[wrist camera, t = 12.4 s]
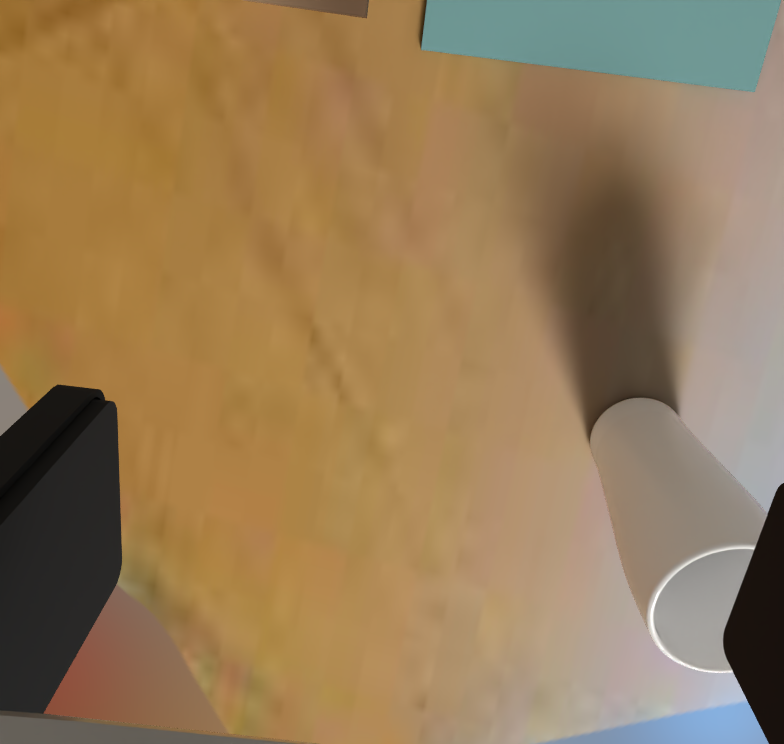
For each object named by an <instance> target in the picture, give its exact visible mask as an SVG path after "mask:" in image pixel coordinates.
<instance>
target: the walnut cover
mask: <svg viewBox="0 0 784 744" xmlns="http://www.w3.org/2000/svg"><path fill="white" fill-rule="evenodd" d="M245 1H252V2H259V3H265V4H272V5H279V6H286V7H293V8H300V9H307V10H314V11H320V12H327V13H334V14H341V15H348V16H355V17H362V18H367V12H368V3H369V0H245Z"/></svg>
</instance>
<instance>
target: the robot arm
mask: <svg viewBox="0 0 784 744" xmlns="http://www.w3.org/2000/svg"><path fill="white" fill-rule="evenodd" d="M121 565H122V545H121V514H120V484H119V453H118V422H117V408H116V405H115V403H114V402H113V401H105V397H104V395H103V392H102V391H101V390H99V389H91V388H82V387H74V386H66V385H56V386H55V387H53V388H52V389H51V390H50V391H49V392H48V393H47V394H46V395H44V396H43V397H42V398H41V399H40V400H39V401H38V402H37V403H36V404H35V405H34V406H33V407H31V408H30V409H29V410H28V411H27V412H26V413H25V414H24V415H23V416H22V417H21V418H20V419H19V420H17V421H16V422H15V423H14V424H13V425H12V426H11V427H10V428H9V429H8V430H7V431H6V432H5V433H3V434H2V435H1V436H0V744H317V743H308V742H299V741H290V740H281V739H271V738H262V737H253V736H244V735H235V734H225V733H216V732H207V731H198V730H188V729H179V728H170V727H161V726H151V725H143V724H132V723H124V722H115V721H105V720H97V719H87V718H78V717H69V716H60V715H51V714H43V713H44V711H45V710H46V708H47V706H48V704H49V703H50V701H51V699H52V697H53V695H54V694H55V692H56V690H57V688H58V687H59V685H60V683H61V681H62V680H63V678H64V676H65V674H66V673H67V671H68V669H69V667H70V665H71V664H72V662H73V660H74V658H75V657H76V655H77V653H78V651H79V649H80V648H81V646H82V644H83V643H84V641H85V639H86V637H87V636H88V634H89V632H90V630H91V628H92V627H93V625H94V623H95V621H96V620H97V618H98V616H99V614H100V613H101V611H102V609H103V607H104V605H105V604H106V602H107V600H108V598H109V597H110V595H111V593H112V591H113V590H114V588H115V586H116V584H117V581H118V578H119V575H120V571H121ZM723 648H724V653H725V656H726V659H727V661H728V663H729V665H730V667H731V669H732V671H733V673H734V675H735V677H736V679H737V681H738V683H739V685H740V687H741V689H742V691H743V693H744V695H745V697H746V699H747V701H748V703H749V705H750V706H751V709H752V711H753V712H754V714H755V717H756V719H757V721H758V723H759V725H760V726H761V729H762V730H763V733H764V734H765V737H766V738H767V741H768V742H769V744H784V483H783V484H781V485H780V486H779V487H778V489H777V491H776V493H775V496H774V499H773V501H772V504H771V507H770V509H769V512H768V515H767V517H766V520H765V523H764V525H763V528H762V531H761V533H760V536H759V539H758V541H757V544H756V547H755V549H754V552H753V555H752V557H751V560H750V563H749V565H748V568H747V571H746V573H745V576H744V579H743V581H742V584H741V587H740V589H739V592H738V595H737V597H736V600H735V603H734V605H733V608H732V611H731V613H730V616H729V619H728V621H727V624H726V626H725V630H724V633H723Z"/></svg>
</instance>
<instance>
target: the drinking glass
mask: <svg viewBox="0 0 784 744" xmlns="http://www.w3.org/2000/svg"><path fill="white" fill-rule="evenodd" d="M590 449H591V454H592V457H593V459H594V462H595V464H596V467H597V469H598V473H599V477H600V480H601V484H602V488H603V492H604V496H605V500H606V504H607V508H608V512H609V516H610V520H611V524H612V528H613V532H614V537H615V541H616V545H617V549H618V552H619V556H620V560H621V563H622V567H623V570H624V573H625V576H626V579H627V582H628V585H629V588H630V590H631V593H632V595H633V598H634V600H635V602H636V605H637V607H638V610H639V612H640V614H641V616H642V618H643V620H644V623H645V625H646V627H647V629H648V631H649V633H650V636H651V638H652V639H653V641H654V643H655V644H656V645H657V647H658V648H659V649H660V650H661V651H662V652H663V653H664V654H665V655H666V656H668V657H669V658H670V659H672V660H673V661H675V662H677V663H679V664H681V665H683V666H685V667H688V668H691V669H694V670H699V671H704V672H712V673H728V672H733V671H732V669H731V667H730V665H729V663H728V661H727V659H726V656H725V653H724V648H723V633H724V630H725V626H726V624H727V621H728V619H729V616H730V613H731V611H732V608H733V605H734V603H735V600H736V597H737V595H738V592H739V589H740V587H741V584H742V581H743V579H744V576H745V573H746V571H747V568H748V565H749V563H750V560H751V557H752V555H753V552H754V549H755V547H756V544H757V541H758V539H759V536H760V533H761V531H762V528H763V525H764V523H765V520H766V517H767V515H768V514H767V512H766V511H765V510H764V509H763V507H762V506H761V505H760V504H759V503H758V502H757V501H756V499H755V498H754V497H753V496H752V495H751V494H750V493H749V492H748V491H747V490H746V489H745V488H744V487H743V486H742V485H741V484H740V483H739V481H738V480H737V479H736V478H735V477H734V476H733V475H732V474H731V473H730V472H729V471H728V470H727V469H726V468H725V467H724V466H723V465H722V464H721V463H720V462H719V461H718V460H717V459H716V458H715V457H714V455H713V454H712V453H711V452H710V451H709V450H708V449H707V448H706V447H705V446H704V445H703V444H702V443H701V442H700V441H699V440H698V439H697V437H696V436H695V435H694V434H693V433H692V432H691V431H690V430H689V429H688V428H687V427H686V425H685V424H684V422H683V421H682V420H681V418H680V417H679V415H678V414H677V413H676V412H675V411H674V410H673V409H672V408H671V407H669V406H668V405H666V404H665V403H663V402H660V401H658V400H655V399H651V398H631V399H627V400H623V401H621V402H618V403H616V404H614V405H613V406H611V407H610V408H608V409H607V410H606V411H605V412H604V413H603V414H602V415H601V416H600V417H599V418H598V420H597V421H596V423H595V425H594V427H593V429H592V432H591V437H590Z"/></svg>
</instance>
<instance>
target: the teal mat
mask: <svg viewBox="0 0 784 744" xmlns="http://www.w3.org/2000/svg"><path fill="white" fill-rule="evenodd" d="M780 3H781V0H427V5H426V14H425V22H424V30H423V38H422V47H421V50H428V51H435V52H443V53H451V54H459V55H467V56H475V57H483V58H490V59H498V60H506V61H514V62H522V63H530V64H538V65H545V66H553V67H561V68H569V69H577V70H585V71H593V72H601V73H608V74H616V75H624V76H632V77H640V78H648V79H656V80H663V81H671V82H679V83H687V84H695V85H703V86H711V87H718V88H726V89H734V90H742V91H750V92H755V89H756V86H757V82H758V79H759V75H760V72H761V69H762V65H763V62H764V58H765V55H766V51H767V48H768V44H769V41H770V38H771V34H772V31H773V27H774V24H775V20H776V17H777V13H778V10H779V7H780Z"/></svg>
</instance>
